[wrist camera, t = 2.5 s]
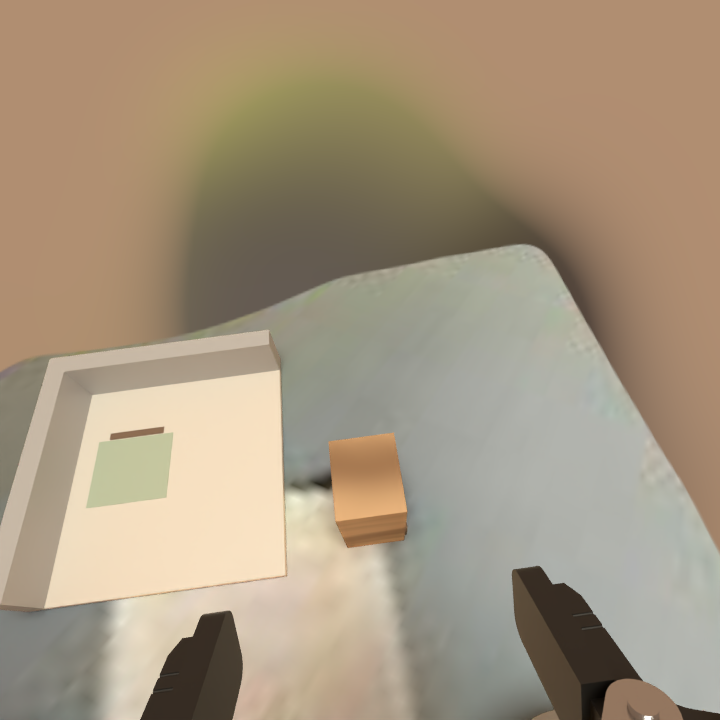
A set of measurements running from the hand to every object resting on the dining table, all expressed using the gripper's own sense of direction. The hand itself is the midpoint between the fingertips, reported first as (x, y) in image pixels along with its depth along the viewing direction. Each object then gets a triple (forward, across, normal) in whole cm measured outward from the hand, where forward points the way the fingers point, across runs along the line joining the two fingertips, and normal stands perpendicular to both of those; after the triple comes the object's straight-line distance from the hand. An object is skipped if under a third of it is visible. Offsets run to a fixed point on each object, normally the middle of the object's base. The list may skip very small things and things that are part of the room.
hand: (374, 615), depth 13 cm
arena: (+26, +17, +6) cm, 32 cm away
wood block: (+22, 0, +10) cm, 24 cm away
